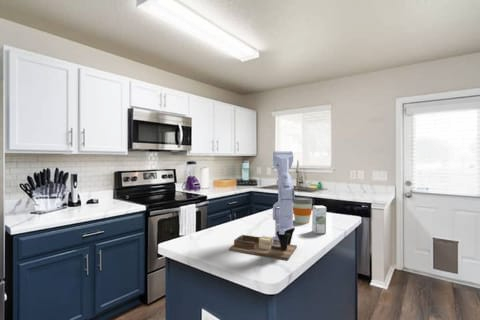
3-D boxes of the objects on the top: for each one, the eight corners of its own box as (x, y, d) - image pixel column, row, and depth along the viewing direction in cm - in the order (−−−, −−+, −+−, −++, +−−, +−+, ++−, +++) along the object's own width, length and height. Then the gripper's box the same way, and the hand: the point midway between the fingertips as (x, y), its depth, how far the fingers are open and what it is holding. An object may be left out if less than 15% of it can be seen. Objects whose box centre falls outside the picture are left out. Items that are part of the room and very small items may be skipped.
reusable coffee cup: (291, 219, 172) (291, 196, 172) (310, 219, 170) (311, 197, 170) (292, 223, 159) (292, 199, 159) (313, 224, 158) (313, 200, 157)
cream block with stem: (262, 244, 118) (262, 233, 118) (288, 248, 113) (288, 237, 113) (258, 247, 113) (258, 236, 113) (285, 252, 108) (285, 240, 108)
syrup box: (322, 231, 144) (322, 205, 144) (326, 234, 138) (326, 207, 138) (312, 231, 144) (312, 205, 144) (315, 234, 138) (315, 207, 138)
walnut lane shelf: (244, 239, 128) (244, 232, 128) (296, 247, 117) (296, 239, 117) (229, 250, 113) (229, 242, 113) (288, 260, 102) (288, 251, 102)
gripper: (281, 211, 119) (281, 240, 119) (272, 217, 106) (271, 250, 106) (296, 212, 116) (296, 242, 116) (289, 219, 103) (288, 253, 103)
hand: (285, 246), depth 111 cm, fingers open, 6 cm apart
